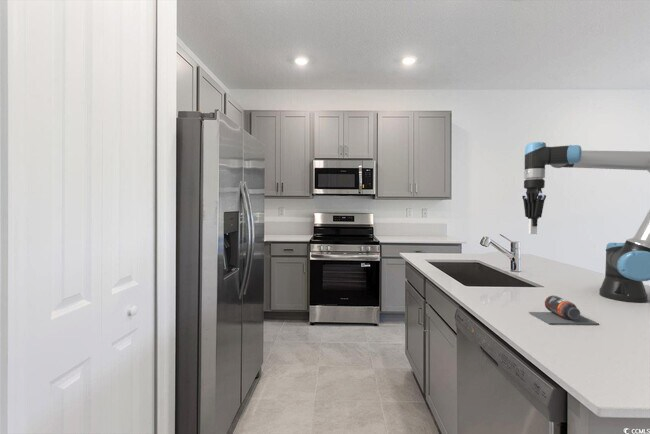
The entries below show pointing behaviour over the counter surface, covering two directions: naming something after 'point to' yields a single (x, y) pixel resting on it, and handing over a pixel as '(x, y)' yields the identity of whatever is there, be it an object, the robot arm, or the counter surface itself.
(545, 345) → the counter surface
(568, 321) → the mat
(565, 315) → the supplement bottle
